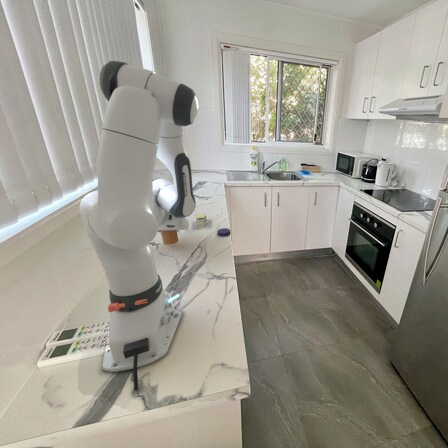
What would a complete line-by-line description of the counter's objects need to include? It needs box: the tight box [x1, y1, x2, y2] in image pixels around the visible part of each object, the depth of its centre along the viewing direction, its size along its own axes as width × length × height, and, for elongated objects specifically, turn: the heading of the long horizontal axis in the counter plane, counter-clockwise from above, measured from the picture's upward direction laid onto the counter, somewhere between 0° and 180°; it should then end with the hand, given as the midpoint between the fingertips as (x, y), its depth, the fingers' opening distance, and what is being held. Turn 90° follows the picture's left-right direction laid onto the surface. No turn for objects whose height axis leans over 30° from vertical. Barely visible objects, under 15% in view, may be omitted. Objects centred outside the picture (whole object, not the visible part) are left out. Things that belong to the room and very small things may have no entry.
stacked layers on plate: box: [193, 212, 211, 230], centre depth 138 cm, size 10×9×6 cm
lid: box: [217, 227, 231, 238], centre depth 128 cm, size 7×6×2 cm
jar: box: [160, 230, 180, 246], centre depth 109 cm, size 6×6×12 cm
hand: (169, 230), depth 110 cm, fingers closed on jar, 6 cm apart
